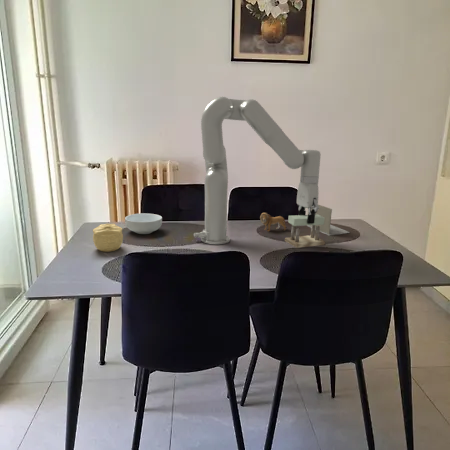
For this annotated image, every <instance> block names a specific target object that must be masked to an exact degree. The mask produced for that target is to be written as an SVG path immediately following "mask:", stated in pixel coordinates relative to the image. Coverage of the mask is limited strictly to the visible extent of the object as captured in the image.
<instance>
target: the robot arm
mask: <svg viewBox="0 0 450 450" xmlns="http://www.w3.org/2000/svg"><path fill="white" fill-rule="evenodd" d="M224 120H231V121H241V122H242V121H243V122H246V123H247V124H248V125H249V126H250V128H251V129H252V130H253V131H254V132H255V133H256V135H258V136H259V138H260V139H261V140H262V141H263V142H264V143H265V144H267V146H268V147H270V148H271V149H272V150H273V151H274V152H275V154H277V156H278V157H279V158H280V159H281V160H282V162H283V164H284V165H286V167H288V168H289V169H292V170H298V169H299V168H300V175H299V177H300V180H299V183H298V187H297V192H296V194H297V195H296V204H297V207H298V215H308V219H307V223H308V224H313V223H314V220H315V214H316V212H317V210H318V209H319V206H318V205H319V179H320V178H319V177H320V166H321V151H320V150H316V149H304V150H302V149H299V148H298V147H297V146H296V145H295V143H294V142H293V141H292V140H291V139H290V138H289V136H287V135H286V133H285V132H284V131H283V129H282V127H280V126H279V124H278V123H277V122H276V121H275V120H274V119H273V117H272V116H270V114H269V113H268V112H267V110H265V108H264V107H263V106H262V105H261V104H260V103H259V102H258V100H256V99H234V98H228V97H226V96H219V97H217V98H215V99H213V100H212V101H210V103H208V104H207V105H206V107H205V108H204V110H203V111H202V114H201V119H200V129H201V130H200V131H201V141H202V157H203V159H204V163H205V177H204V229H202V231H201V232H194V233H193V237H194V238H198V239H200V240H201V242H202V243H205V244H208V245H224V244H228V243H229V242H230V240H231V237H230V236H228V235H227V231H228V230H227V229H228V228H227V227H228V226H227V224H228V223H227V221H228V188H229V187H228V186H229V185H228V183H229V175H228V174H229V173H228V163H227V162H228V161H227V150H226V148H225V145H224V137H223V121H224ZM311 206H312V207H311ZM306 209H307V211H306ZM311 209H313V210H312V211H311ZM308 211H309V214H308V213H307V214H306V212H308Z"/></svg>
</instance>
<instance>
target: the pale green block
mask: <svg viewBox="0 0 450 450" xmlns="http://www.w3.org/2000/svg"><path fill="white" fill-rule="evenodd" d="M307 219H308V214H306V215H299V214H298V215H297V214H296V215H288V219H287V220H288V221H287V222H288V223H289V224H290V225H291V226H296V227H300V226H301V227H303V226H307V225H324V219H325V218H324V217H322V216H320V215H315V220H314V223H313V224H308V223H307Z"/></svg>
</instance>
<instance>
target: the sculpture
mask: <svg viewBox="0 0 450 450" xmlns="http://www.w3.org/2000/svg"><path fill="white" fill-rule="evenodd" d="M92 233H93V234H92V241H93V244H94V246H95V248H96V249H97V250H99V251H101V252H104V253H105V252H106V253H107V252H108V253H109V252H115V251H118V250H119V249H120V248H121V246H122V244H123V242H124V241H123V240H124V234H123V228H122V227H121V226H118V225H117V224H115V223H105V224H104V223H103V224H99V225H98V226H97V227H95V228H93V229H92Z"/></svg>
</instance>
